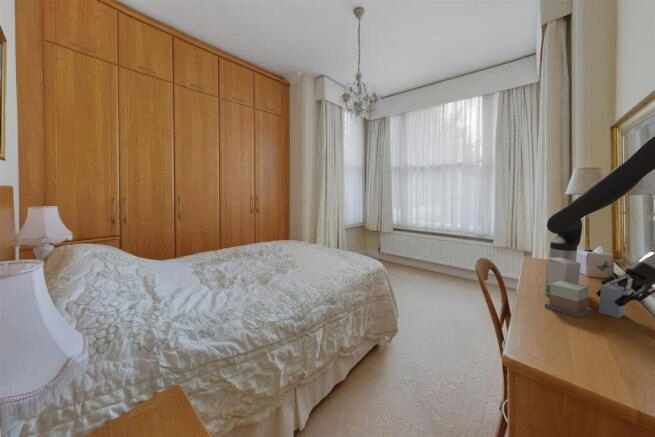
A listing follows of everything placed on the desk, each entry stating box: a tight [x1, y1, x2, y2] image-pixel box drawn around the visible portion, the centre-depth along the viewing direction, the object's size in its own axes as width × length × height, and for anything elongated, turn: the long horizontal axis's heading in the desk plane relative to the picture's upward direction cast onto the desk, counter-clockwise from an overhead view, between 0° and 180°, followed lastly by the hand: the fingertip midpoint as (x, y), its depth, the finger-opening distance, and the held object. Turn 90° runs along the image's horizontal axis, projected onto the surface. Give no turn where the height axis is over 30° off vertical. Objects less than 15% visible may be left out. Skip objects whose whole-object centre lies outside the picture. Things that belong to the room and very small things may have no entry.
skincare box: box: [544, 257, 582, 296], centre depth 109 cm, size 8×7×16 cm
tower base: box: [544, 280, 593, 319], centre depth 99 cm, size 10×10×9 cm
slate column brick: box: [598, 282, 626, 319], centre depth 94 cm, size 5×5×10 cm
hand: (607, 300), depth 95 cm, fingers closed on slate column brick, 7 cm apart
